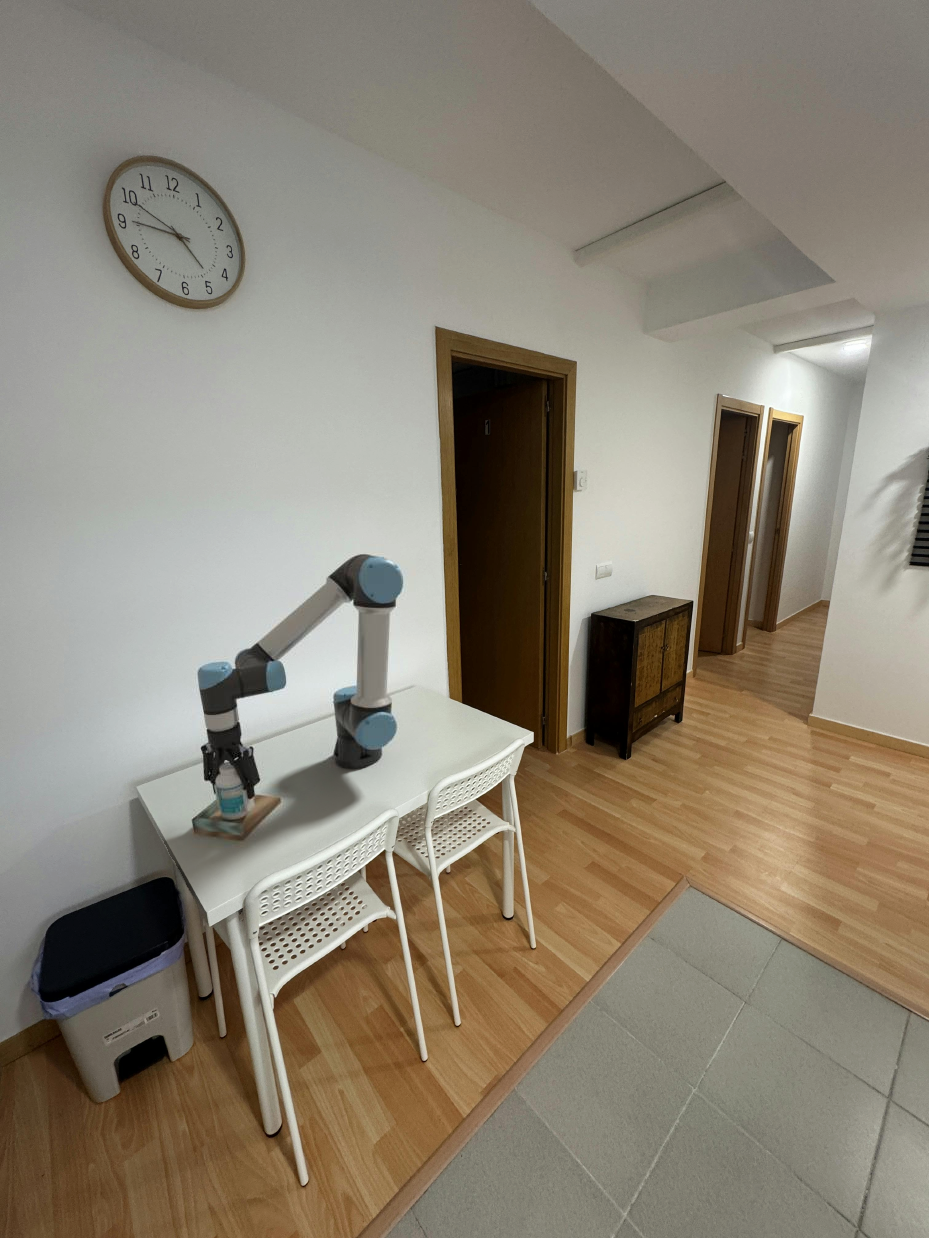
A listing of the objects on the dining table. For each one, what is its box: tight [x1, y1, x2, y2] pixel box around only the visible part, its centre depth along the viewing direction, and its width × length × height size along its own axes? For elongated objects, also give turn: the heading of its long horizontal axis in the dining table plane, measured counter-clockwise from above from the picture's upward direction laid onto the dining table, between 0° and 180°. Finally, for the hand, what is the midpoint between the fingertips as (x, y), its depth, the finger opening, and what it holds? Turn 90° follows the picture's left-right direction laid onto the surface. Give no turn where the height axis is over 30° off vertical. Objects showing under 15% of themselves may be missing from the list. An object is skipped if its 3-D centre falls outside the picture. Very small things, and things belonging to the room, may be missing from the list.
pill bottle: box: [215, 761, 251, 820], centre depth 127 cm, size 8×7×14 cm
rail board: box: [191, 793, 282, 842], centre depth 130 cm, size 14×16×4 cm
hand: (236, 806), depth 128 cm, fingers closed on pill bottle, 7 cm apart
